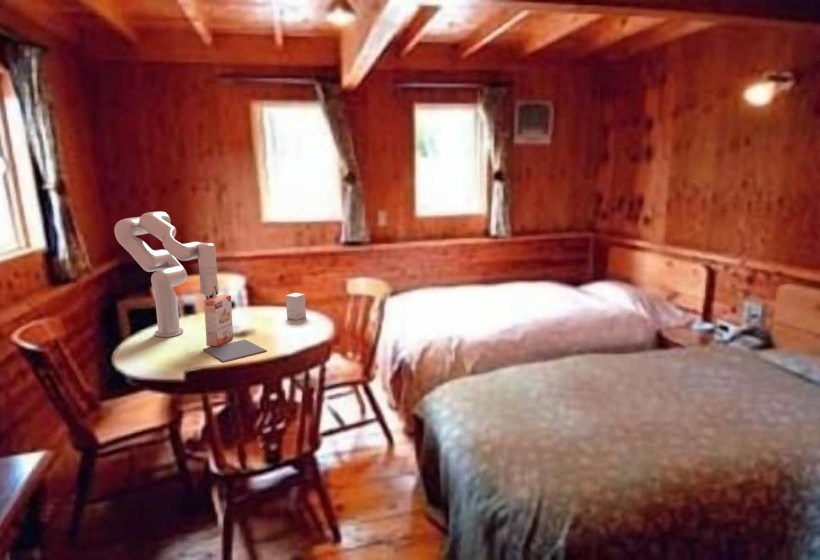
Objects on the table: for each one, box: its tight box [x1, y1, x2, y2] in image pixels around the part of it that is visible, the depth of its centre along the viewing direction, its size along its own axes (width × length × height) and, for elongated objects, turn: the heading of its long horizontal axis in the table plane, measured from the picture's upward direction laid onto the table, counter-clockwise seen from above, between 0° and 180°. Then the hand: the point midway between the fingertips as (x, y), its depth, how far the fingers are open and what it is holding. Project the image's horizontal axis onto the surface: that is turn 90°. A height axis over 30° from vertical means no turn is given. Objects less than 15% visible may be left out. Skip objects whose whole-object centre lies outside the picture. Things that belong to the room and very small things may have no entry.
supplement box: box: [285, 292, 307, 321], centre depth 296 cm, size 7×7×13 cm
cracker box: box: [203, 294, 234, 347], centre depth 254 cm, size 14×6×21 cm, turn 168°
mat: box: [202, 339, 268, 363], centre depth 246 cm, size 20×20×1 cm
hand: (211, 309), depth 259 cm, fingers closed
